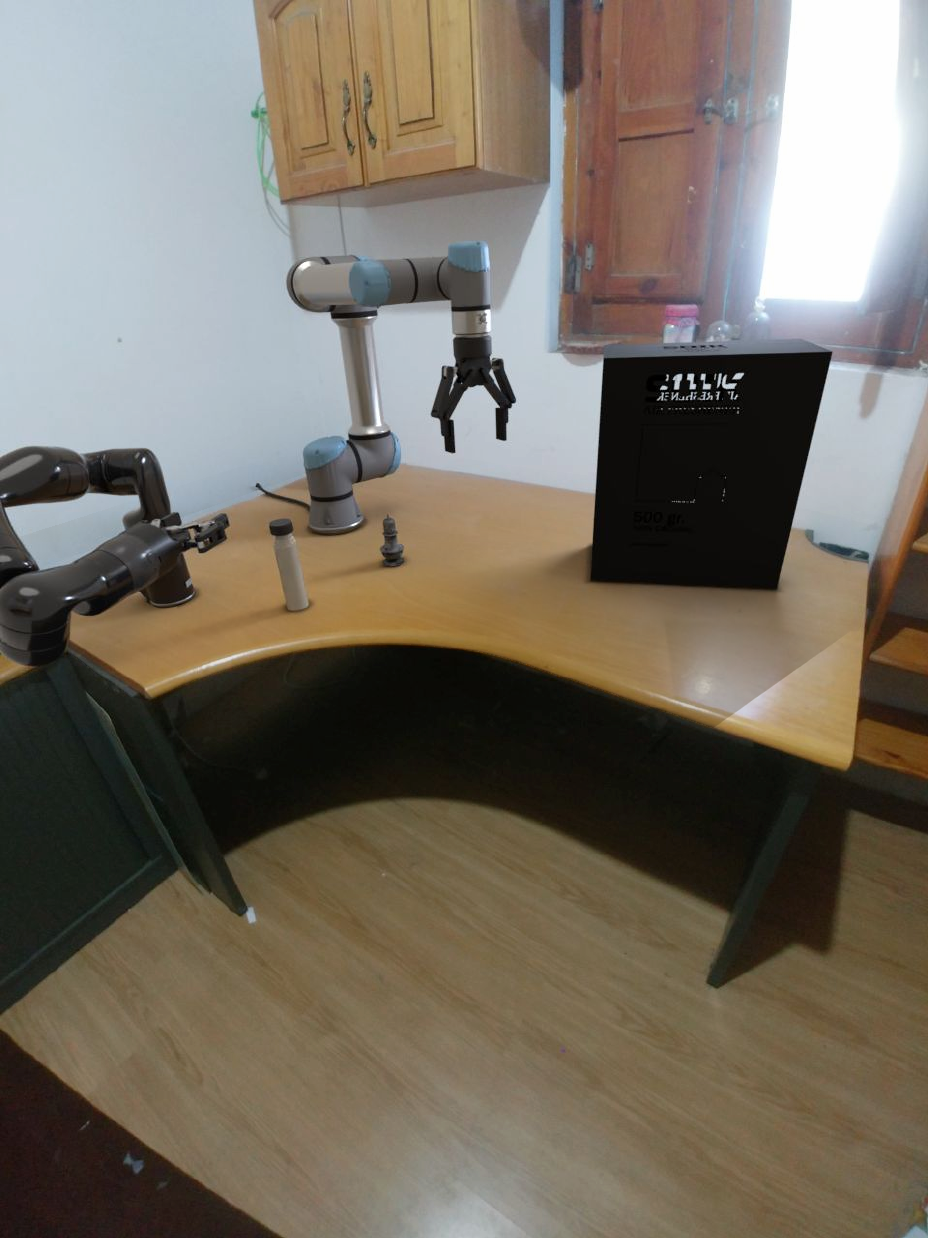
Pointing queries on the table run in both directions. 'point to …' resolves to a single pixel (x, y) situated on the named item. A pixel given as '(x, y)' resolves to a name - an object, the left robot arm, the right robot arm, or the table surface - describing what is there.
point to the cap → (281, 527)
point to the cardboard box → (703, 460)
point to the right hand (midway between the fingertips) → (476, 445)
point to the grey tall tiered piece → (391, 544)
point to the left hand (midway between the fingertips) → (202, 518)
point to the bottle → (290, 572)
